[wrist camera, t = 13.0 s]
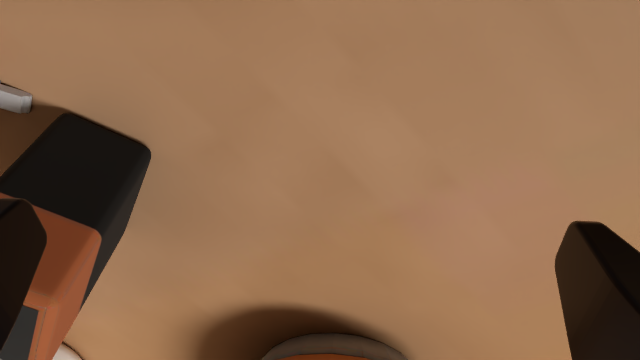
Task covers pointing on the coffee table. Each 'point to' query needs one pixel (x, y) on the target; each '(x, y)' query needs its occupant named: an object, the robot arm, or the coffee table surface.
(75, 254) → the battery
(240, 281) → the coffee table surface
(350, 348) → the pie
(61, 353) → the vodka
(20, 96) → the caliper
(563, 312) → the robot arm
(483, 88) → the coffee table surface
